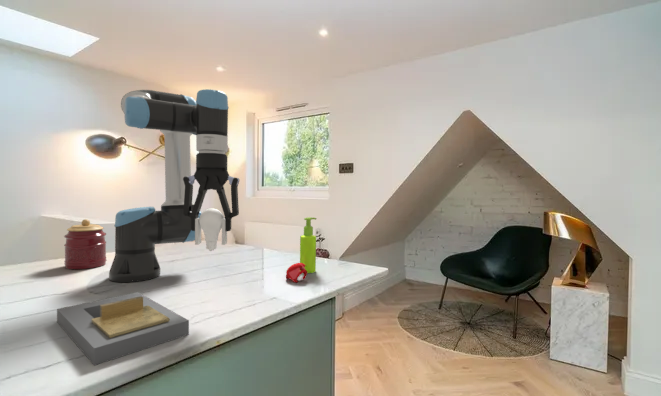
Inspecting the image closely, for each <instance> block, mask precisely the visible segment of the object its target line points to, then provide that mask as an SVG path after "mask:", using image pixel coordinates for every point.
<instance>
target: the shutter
mask: <svg viewBox="0 0 661 396" xmlns="http://www.w3.org/2000/svg"><path fill="white" fill-rule="evenodd" d="M168 321H170V318H168V317H167V316H165V315H163V314H162V313H160V312H158V311H157V310H155V309H153V308H151V307H150V306H144V307H143V297H142V296H140V297H135V298H131V299H126V300H121V301H117V302H112V303H107V304H103V305H100V317H98V318H94V319H92V323H93V324H94V325H96V326H97V327H98V328H99V329H100V330H101V331H102V332H103V333H104V334H105V335H107V336H108V337H109V338H112V337H115V336H119V335H122V334H126V333H129V332H133V331H136V330H140V329H143V328H147V327H150V326H154V325H157V324H161V323H164V322H168Z"/></svg>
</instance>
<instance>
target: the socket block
mask: <svg viewBox="0 0 661 396" xmlns="http://www.w3.org/2000/svg"><path fill="white" fill-rule="evenodd" d="M140 296H142V297H143V307H144V306H150V307H151V308H153V309H155V310H157V311H158V312H160V313H162V314H163V315H165V316H167V317H168V318H170V321H168V322H164V323H161V324H157V325H154V326H150V327H147V328H143V329H140V330H136V331H133V332H129V333H126V334H122V335H119V336H115V337H112V338H109V337H108V336H107V335H105V334H104V333H103V332H102V331H101V330H100V329H99V328H98V327H97V326H96V325H94V324H93V323H92V319H94V318H98V317H100V305H103V304H107V303H112V302H117V301H121V300H126V299H131V298H135V297H140ZM56 323H57V324H58V325H59V326H60V327H61V329H62V330H63V331H64V332H65V333H66V334H67V336H68V337H69V338H70V339H71V340H72V341H73V342H74V343H75V344H76V346H77V347H78V348H79V350H81V352H82V353H83V355H85V356H86V357H87V359H88V360H89V361H90V362H91V363H92V365H94V366H96V365H99V364H102V363H106V362H108V361H113V360H114V359H117V358H121V357H124V356H127V355H130V354H134V353H137V352H139V351H142V350H146V349H149V348H151V347H154V346H157V345H161V344H164V343H166V342H169V341H173V340H176V339H179V338H182V337H185V336H188V335H189V334H190V333H189V332H190V329H189V328H190V325H189V324H190V320H189V319H187V318H185V317H184V316H181V315H180V314H178V313H176V312H174V311H173V310H171V309H169V308H167V307H165V306H164V305H162V304H160V303H158V302H156V301H155V300H153V299H151V298H149V297H147V296H146V295H144V294H142V293H141V292H139V291H138V292H137V291H136V292H133V293H127V294H122V295H118V296H112V297H108V298H104V299H100V300H98V299H97V300H93V301H89V302H84V303H83V302H82V303H79V304H75V305H70V306H66V307H65V306H64V307H60V308H56Z"/></svg>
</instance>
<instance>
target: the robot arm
mask: <svg viewBox="0 0 661 396" xmlns="http://www.w3.org/2000/svg"><path fill="white" fill-rule="evenodd" d="M228 99H229V98H228V95H227V94H226V93H225V92H224V91H221V90H216V89H211V88H210V89H206V88H205V89H200V90H198V91H197V93H196V99H195V98H194V97H192V96H189V95H184V94H181V93H180V94H177V93H173V92H171V93H170V92H165V91H157V90H152V89H138V90H137V89H136V90H131V91H128V92H127V93H125V94H124V95H123V96H122V99H121V101H120V108H121V111H122V112H123V114H124V123H125V125H126V126H128V127H131V128H137V129H140V130H141V129H143V130H144V129H146V130H147V129H148V130H155V131H156V130H158V131H160V132H161V134H163V135H164V136H163V137H164V176H165V177H164V183H165V184H164V185H165V186H164V187H165V200H164V202H163V203H162V204H161V206H160V210H156V208H155V207H154V206H143V207H134V208H128V209H124V210H123V209H122V210H119V211H118V212H116V214H115V219H114V221H115V222H114V223H115V224H114V228H115V229H114V230H115V235H114V237H115V239H114V241H115V242H114V251H115V253H114V258H113V260H112V263H111V266H110V267H109V269H110V270H109V272H108V280H109V281H111V282H115V283H134V282H135V283H136V282H142V281H148V280H151V279H155V278H158V277H159V276H160V275H161V266H160V263H159V261H158V257H157V255H156V252H155V251H156V250H155V247H156V245H164V244H176V243H177V244H178V243H183V244H184V243H188V242H193V241H194V245H200V244H202V228H201V226H200V223H199V218H200V215H201V214H202V211H201V209H202V206H203V203H204V199H205V197H206V194H207V192H208V191H210V190H213V191H216V193H217V195H218V199H219V202H220V204H221V208H222V213H223V216H224V219H222V228H221V245H222V246H225V245H227V244H228V232H230V231H231V230H232V219H233V218H234V217H238V216H239V214H240V213H239V211H240V208H239V190H238V186H239V184H240V178H239V177H235V176H230V174H229V172H228V155H227V154H226V153H228V151H229V149H228V147H229V146H228V145H229V144H228V140H229V139H228V138H229V136H228V134H229V133H228V132H229V131H228V129H229V128H228V125H229V124H228V123H229V109H230V108H229V100H228ZM192 135H194V136H196V140H195V141H196V145H195V147H196V148H195V150H196V151H197V153H196V155H195V156H196V157H195V172H194V174H193V175H192V172H191V171H192V170H191V169H192V168H191V167H192V166H191V164H192V163H191V161H192V160H191V136H192ZM195 180H196V182H197V184H198V185H199V187H198V190H197V194H196V199H195V200H194V201H193V195H194V184H195ZM228 181H229V183H228V184H229V185H230V196H231V199H230V200H231V201H230V202H231V208H230V205H229V202H228V198H227V196H226V195H227V194H226V191H225V187H224V186H225V184H226V183H227V182H228Z"/></svg>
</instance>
